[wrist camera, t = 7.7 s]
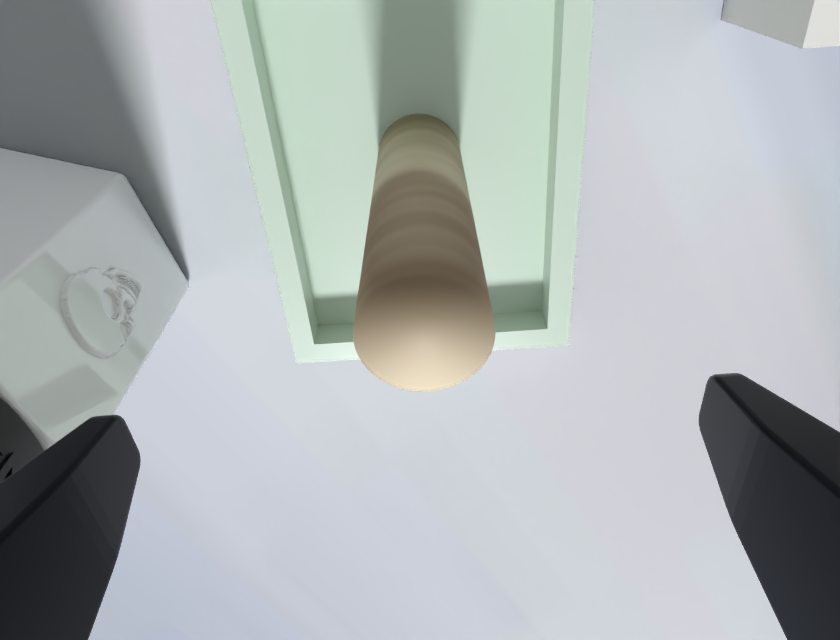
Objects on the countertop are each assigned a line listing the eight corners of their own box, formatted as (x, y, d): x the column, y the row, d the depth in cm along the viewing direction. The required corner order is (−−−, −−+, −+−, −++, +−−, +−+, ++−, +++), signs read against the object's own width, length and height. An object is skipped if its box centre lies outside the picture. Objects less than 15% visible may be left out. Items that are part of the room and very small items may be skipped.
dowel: (461, 191, 20) (496, 387, 12) (382, 196, 20) (362, 395, 12) (458, 110, 19) (495, 269, 10) (373, 117, 19) (342, 279, 10)
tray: (558, 318, 24) (568, 345, 22) (303, 335, 24) (296, 363, 23) (586, -128, 16) (604, -131, 14) (208, -93, 16) (187, -94, 15)
